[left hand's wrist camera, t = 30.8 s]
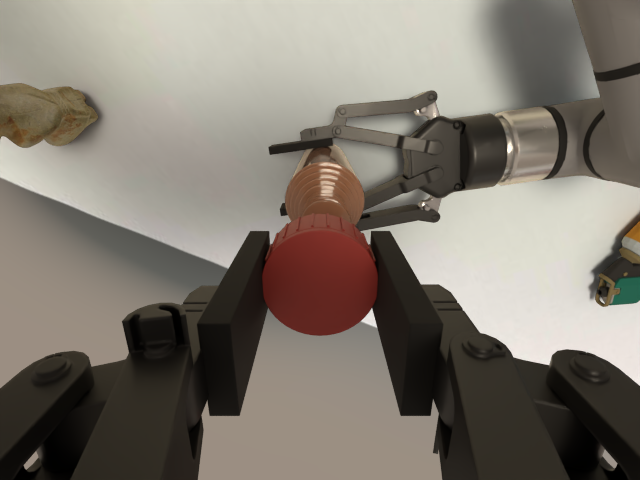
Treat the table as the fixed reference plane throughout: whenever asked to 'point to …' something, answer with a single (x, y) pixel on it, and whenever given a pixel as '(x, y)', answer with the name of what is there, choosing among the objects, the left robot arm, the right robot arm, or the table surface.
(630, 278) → the spray gun
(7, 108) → the sculpture
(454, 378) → the left robot arm
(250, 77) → the table surface
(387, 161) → the table surface
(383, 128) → the table surface
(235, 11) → the table surface
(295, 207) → the bottle
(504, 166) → the right robot arm
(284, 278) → the cap
